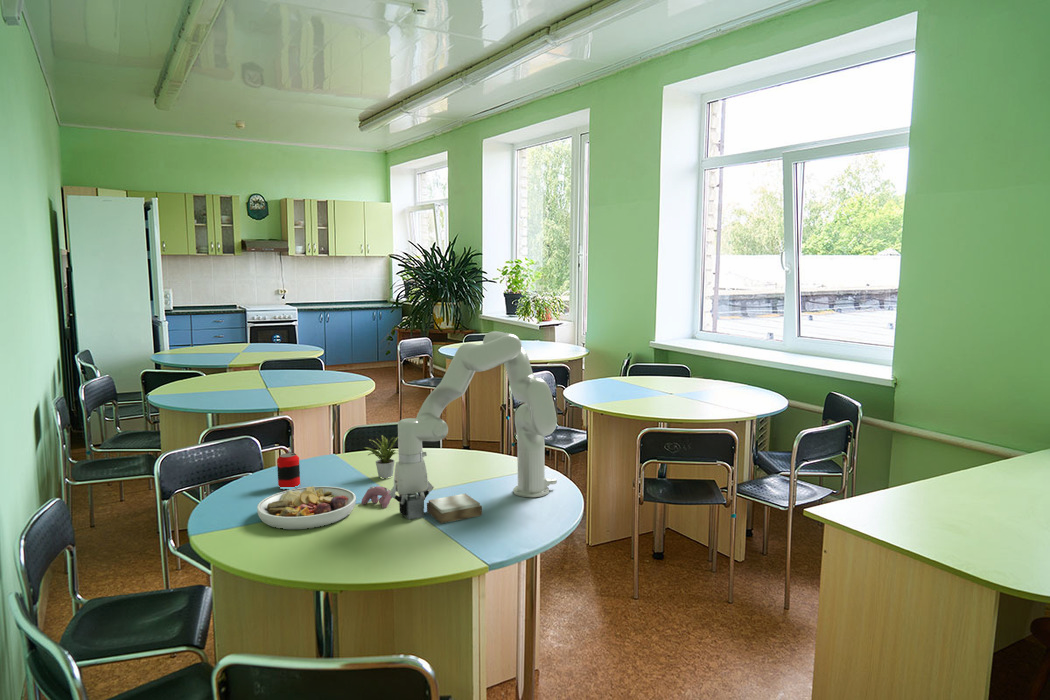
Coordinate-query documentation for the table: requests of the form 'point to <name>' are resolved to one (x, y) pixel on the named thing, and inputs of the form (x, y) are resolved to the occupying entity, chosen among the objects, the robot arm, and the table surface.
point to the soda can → (288, 470)
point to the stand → (454, 508)
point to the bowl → (306, 507)
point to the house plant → (384, 457)
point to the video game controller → (373, 495)
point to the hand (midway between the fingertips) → (412, 512)
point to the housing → (414, 506)
